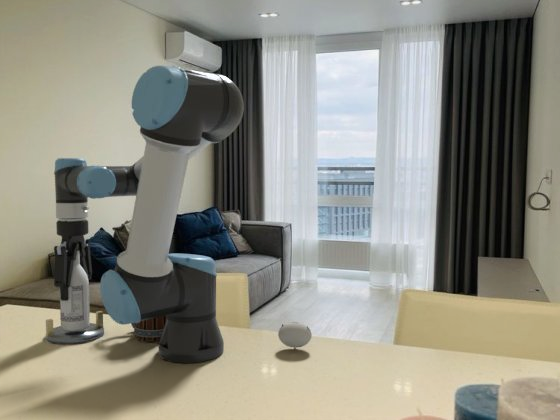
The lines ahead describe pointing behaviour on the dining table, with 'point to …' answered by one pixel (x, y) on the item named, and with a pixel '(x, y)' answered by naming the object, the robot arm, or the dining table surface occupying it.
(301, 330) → the figurine
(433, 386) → the dining table surface
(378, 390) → the dining table surface
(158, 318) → the mug
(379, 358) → the dining table surface
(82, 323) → the bath foam
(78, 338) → the disc
